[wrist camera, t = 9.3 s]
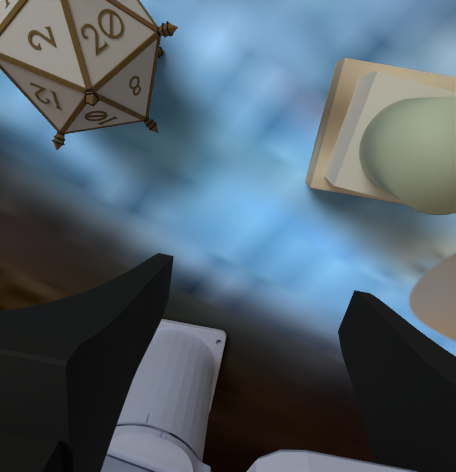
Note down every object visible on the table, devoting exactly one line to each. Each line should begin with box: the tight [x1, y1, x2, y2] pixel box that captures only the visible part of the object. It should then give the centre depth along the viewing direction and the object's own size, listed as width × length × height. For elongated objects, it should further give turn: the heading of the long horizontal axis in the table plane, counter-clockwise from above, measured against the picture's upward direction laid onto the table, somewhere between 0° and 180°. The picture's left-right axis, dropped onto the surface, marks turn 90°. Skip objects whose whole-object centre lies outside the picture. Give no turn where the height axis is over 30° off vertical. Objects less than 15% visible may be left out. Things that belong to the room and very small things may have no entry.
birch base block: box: [305, 58, 456, 204], centre depth 19 cm, size 7×7×2 cm
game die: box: [0, 0, 178, 150], centre depth 15 cm, size 9×8×10 cm
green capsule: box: [359, 97, 456, 215], centre depth 14 cm, size 4×4×4 cm
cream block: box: [324, 71, 456, 204], centre depth 17 cm, size 6×6×2 cm
